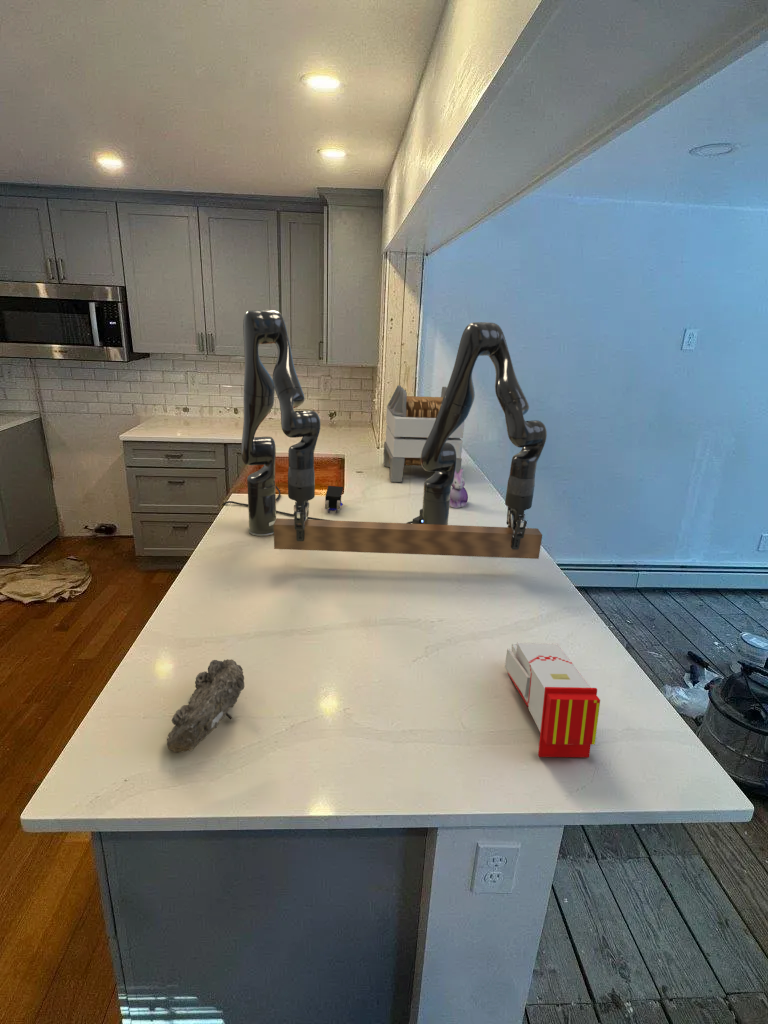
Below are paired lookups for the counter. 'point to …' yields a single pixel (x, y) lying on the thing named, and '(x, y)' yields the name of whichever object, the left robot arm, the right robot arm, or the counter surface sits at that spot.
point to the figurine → (458, 491)
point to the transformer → (413, 431)
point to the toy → (555, 698)
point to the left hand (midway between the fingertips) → (301, 536)
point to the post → (406, 538)
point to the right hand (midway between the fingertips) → (512, 544)
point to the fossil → (206, 705)
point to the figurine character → (333, 498)
